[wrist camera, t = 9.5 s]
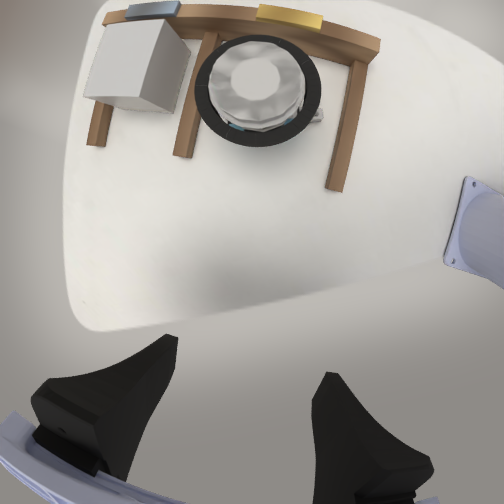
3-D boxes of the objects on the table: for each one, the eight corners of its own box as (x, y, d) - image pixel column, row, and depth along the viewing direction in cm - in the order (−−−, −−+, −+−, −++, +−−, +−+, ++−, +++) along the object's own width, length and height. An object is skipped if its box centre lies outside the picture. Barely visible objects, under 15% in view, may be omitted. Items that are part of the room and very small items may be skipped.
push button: (315, 85, 18) (344, 22, 8) (323, 153, 19) (366, 138, 10) (225, 93, 18) (184, 36, 9) (232, 161, 20) (193, 152, 10)
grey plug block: (191, 52, 18) (164, 19, 12) (173, 114, 19) (138, 96, 13) (142, 51, 18) (106, 24, 12) (125, 110, 19) (82, 96, 13)
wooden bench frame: (364, 58, 17) (383, 35, 12) (337, 191, 20) (354, 196, 15) (128, 30, 17) (103, 9, 12) (96, 145, 20) (62, 143, 16)
